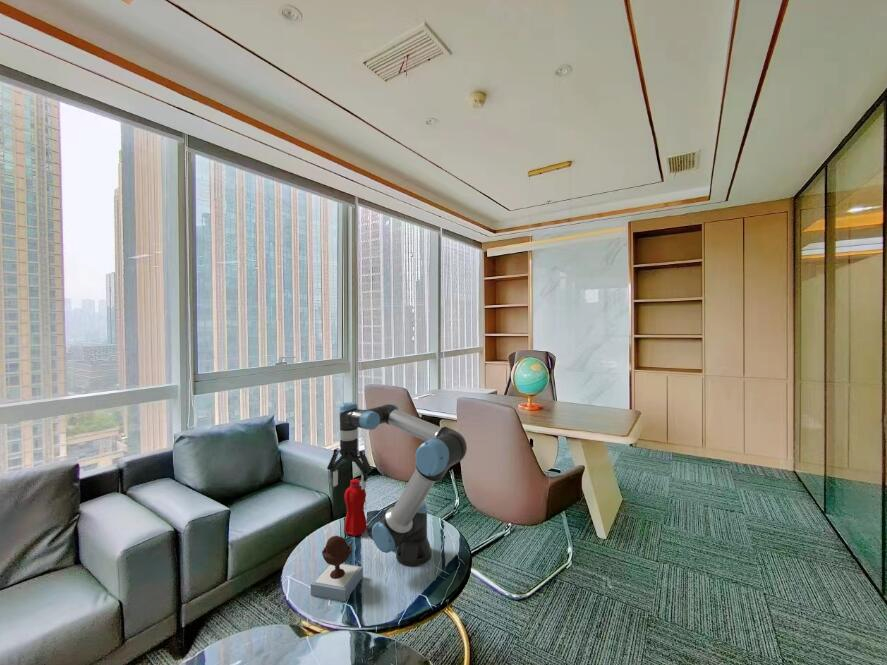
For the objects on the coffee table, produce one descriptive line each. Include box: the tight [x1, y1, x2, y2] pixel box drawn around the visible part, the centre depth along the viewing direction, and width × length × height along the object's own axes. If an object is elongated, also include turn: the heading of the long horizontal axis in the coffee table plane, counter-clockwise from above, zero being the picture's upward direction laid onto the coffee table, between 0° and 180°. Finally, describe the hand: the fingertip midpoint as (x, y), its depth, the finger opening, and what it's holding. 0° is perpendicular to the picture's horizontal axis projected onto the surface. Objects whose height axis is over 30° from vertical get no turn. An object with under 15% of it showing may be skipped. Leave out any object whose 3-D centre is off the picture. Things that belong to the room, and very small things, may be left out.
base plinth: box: [310, 563, 364, 602], centre depth 146 cm, size 14×14×4 cm
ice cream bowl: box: [321, 535, 353, 579], centre depth 145 cm, size 11×11×15 cm
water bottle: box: [343, 478, 368, 537], centre depth 184 cm, size 9×11×25 cm
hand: (349, 486), depth 167 cm, fingers open, 13 cm apart
